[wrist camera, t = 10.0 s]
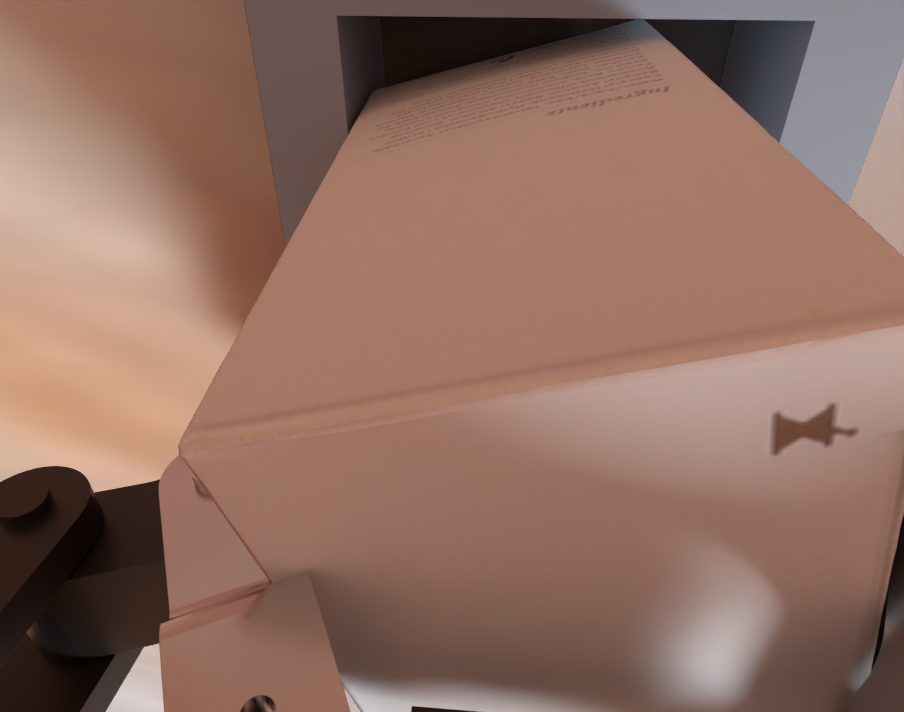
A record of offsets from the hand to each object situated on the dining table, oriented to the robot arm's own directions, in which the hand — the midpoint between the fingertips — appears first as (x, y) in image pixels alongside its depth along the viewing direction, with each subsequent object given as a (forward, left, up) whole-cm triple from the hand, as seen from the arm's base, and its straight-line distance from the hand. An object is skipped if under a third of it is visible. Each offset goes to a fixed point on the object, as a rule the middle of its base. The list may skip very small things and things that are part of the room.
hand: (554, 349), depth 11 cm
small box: (0, 0, -5) cm, 5 cm away
